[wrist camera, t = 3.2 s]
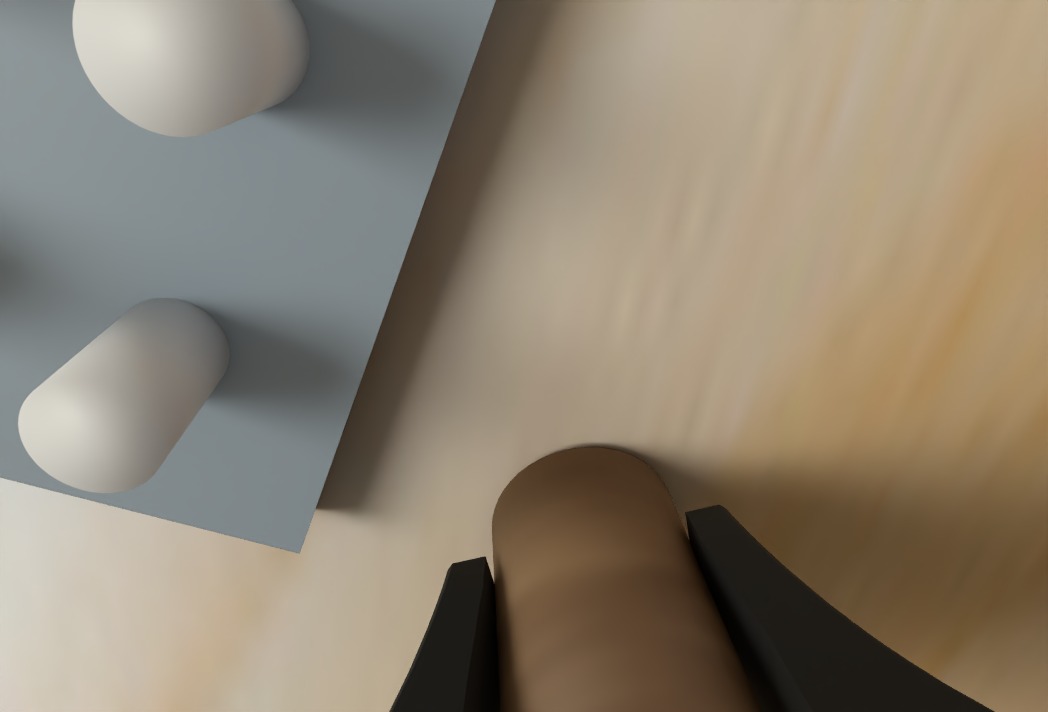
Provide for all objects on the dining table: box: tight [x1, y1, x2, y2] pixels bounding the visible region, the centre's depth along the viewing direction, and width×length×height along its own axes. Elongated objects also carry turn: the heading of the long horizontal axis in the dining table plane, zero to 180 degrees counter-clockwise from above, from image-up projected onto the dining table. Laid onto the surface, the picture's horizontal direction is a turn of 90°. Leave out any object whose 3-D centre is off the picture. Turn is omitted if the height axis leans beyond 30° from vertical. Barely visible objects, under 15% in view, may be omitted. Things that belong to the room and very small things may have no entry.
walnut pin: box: [492, 447, 762, 712], centre depth 11 cm, size 4×4×6 cm
